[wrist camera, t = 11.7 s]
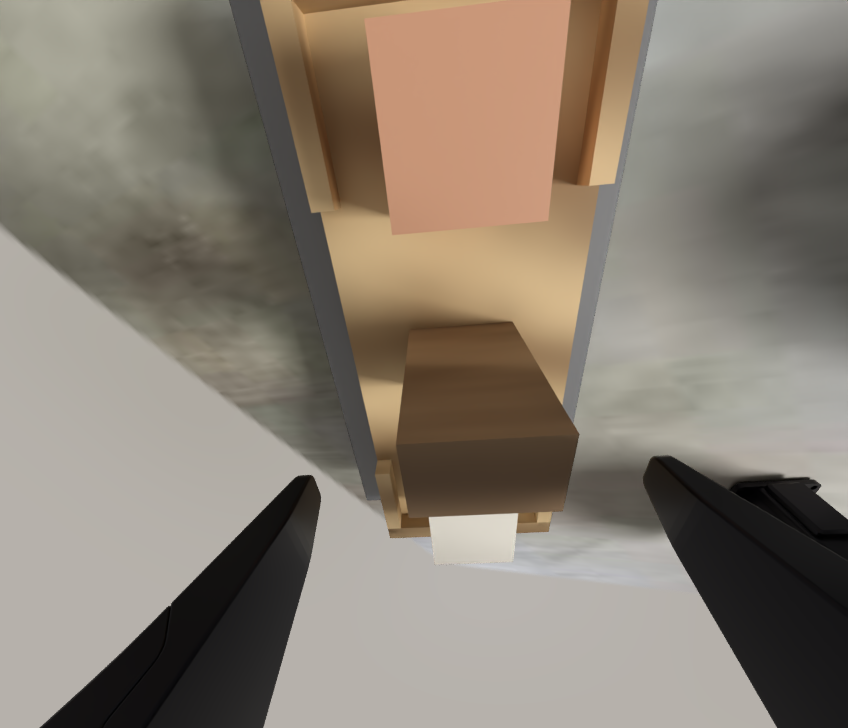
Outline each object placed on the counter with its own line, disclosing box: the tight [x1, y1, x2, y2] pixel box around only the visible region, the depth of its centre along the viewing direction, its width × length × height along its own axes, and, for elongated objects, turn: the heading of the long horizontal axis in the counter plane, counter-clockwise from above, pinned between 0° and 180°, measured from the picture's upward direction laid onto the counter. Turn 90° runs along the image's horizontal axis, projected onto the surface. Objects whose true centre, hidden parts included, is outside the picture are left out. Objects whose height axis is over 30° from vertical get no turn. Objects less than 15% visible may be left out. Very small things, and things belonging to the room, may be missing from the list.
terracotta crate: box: [364, 0, 571, 235], centre depth 9 cm, size 4×4×4 cm
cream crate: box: [429, 513, 518, 565], centre depth 17 cm, size 4×4×4 cm
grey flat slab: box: [229, 0, 658, 500], centre depth 18 cm, size 26×14×3 cm, turn 5°
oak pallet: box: [260, 0, 649, 538], centre depth 13 cm, size 25×10×9 cm, turn 5°
